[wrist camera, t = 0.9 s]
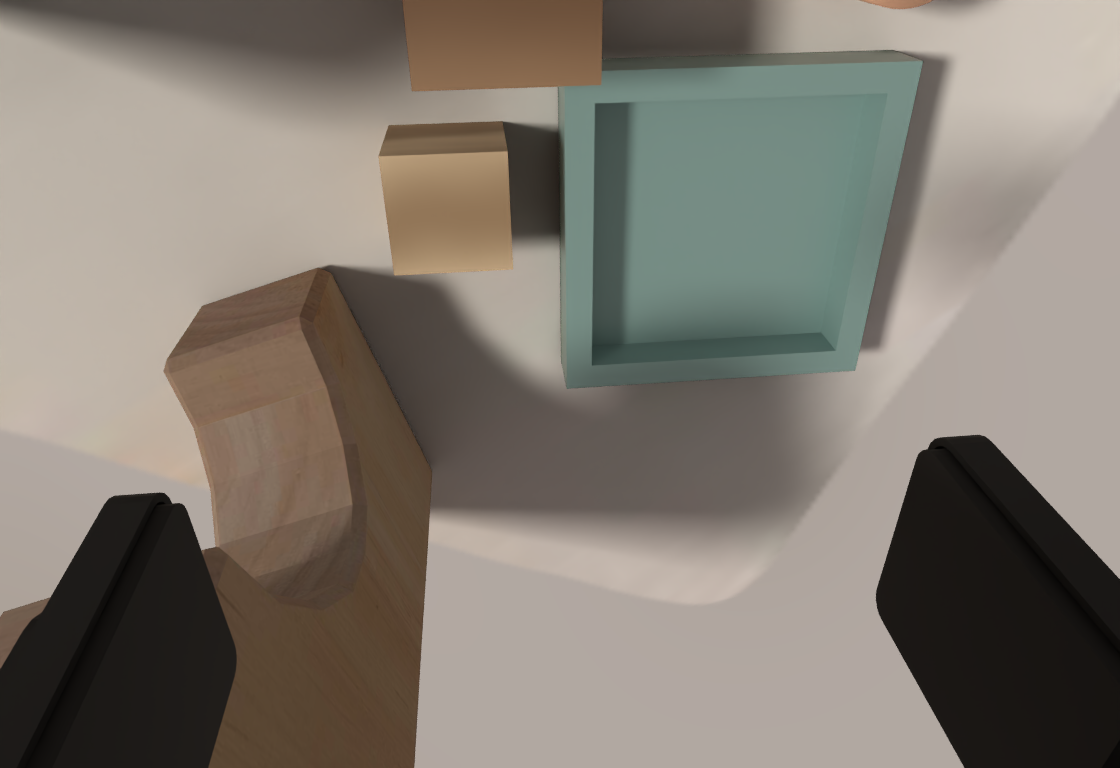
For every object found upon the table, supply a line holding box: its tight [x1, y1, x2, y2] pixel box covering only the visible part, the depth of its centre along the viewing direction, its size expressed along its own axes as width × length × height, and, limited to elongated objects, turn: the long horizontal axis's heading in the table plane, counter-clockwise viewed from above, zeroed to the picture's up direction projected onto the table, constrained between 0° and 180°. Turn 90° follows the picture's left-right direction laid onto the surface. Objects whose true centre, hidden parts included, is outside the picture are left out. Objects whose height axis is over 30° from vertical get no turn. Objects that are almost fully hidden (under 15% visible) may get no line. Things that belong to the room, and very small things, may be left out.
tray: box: [558, 50, 923, 389], centre depth 30 cm, size 12×12×2 cm
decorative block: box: [0, 268, 432, 768], centre depth 25 cm, size 11×6×20 cm, turn 16°
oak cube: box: [379, 121, 513, 275], centre depth 27 cm, size 4×4×4 cm
